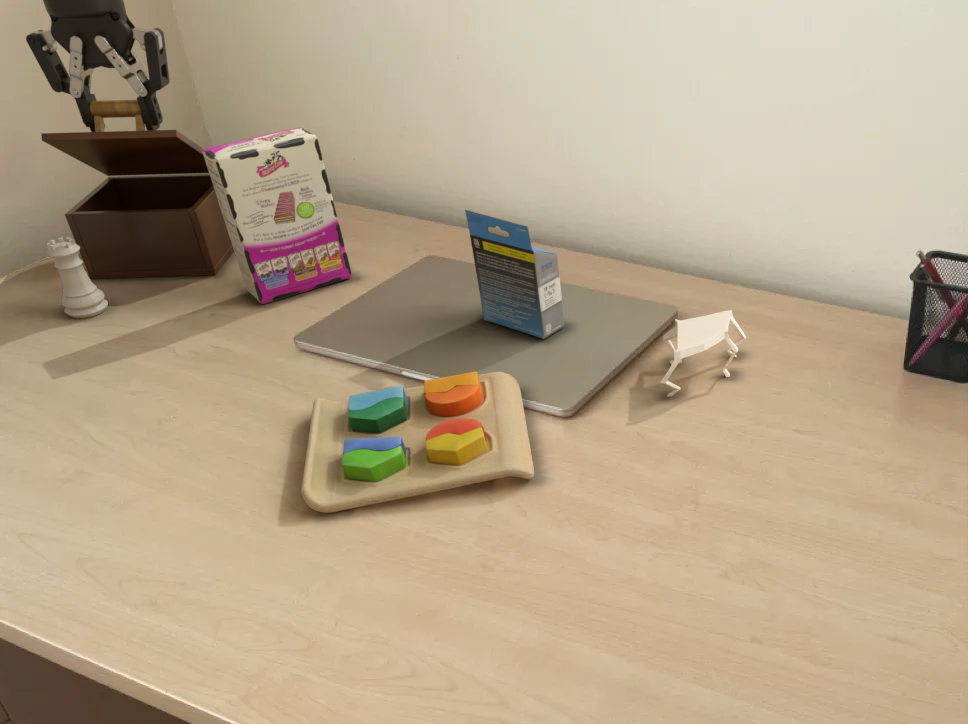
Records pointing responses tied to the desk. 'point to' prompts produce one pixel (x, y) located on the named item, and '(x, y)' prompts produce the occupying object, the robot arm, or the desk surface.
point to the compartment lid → (129, 145)
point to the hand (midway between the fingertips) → (126, 129)
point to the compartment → (151, 227)
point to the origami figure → (700, 339)
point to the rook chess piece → (75, 281)
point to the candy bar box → (279, 213)
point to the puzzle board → (415, 441)
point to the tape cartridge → (515, 278)
